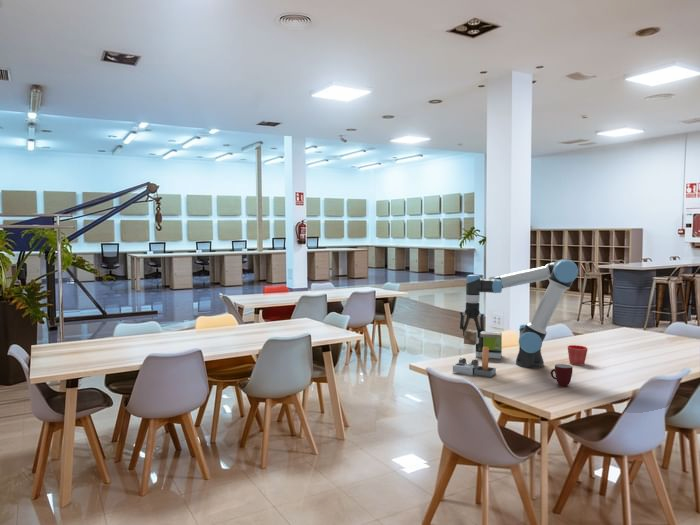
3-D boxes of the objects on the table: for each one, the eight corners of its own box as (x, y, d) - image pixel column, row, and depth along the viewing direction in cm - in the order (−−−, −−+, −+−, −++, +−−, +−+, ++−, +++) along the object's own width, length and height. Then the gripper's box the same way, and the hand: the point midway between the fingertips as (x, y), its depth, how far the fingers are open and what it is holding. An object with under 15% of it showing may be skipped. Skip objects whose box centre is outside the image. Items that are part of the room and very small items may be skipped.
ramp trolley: (479, 370, 286) (480, 359, 285) (472, 375, 274) (472, 364, 274) (460, 367, 291) (460, 356, 291) (452, 372, 280) (452, 361, 280)
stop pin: (488, 373, 277) (489, 347, 276) (487, 374, 274) (487, 348, 273) (482, 372, 279) (483, 346, 278) (481, 373, 276) (481, 347, 275)
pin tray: (495, 373, 278) (495, 368, 278) (491, 377, 270) (491, 371, 270) (479, 371, 283) (479, 365, 283) (474, 375, 275) (474, 369, 275)
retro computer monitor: (501, 355, 320) (502, 331, 319) (500, 359, 311) (501, 334, 310) (476, 353, 325) (477, 330, 324) (475, 357, 315) (475, 333, 315)
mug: (546, 385, 257) (547, 365, 256) (553, 381, 263) (553, 362, 262) (568, 389, 250) (569, 368, 249) (574, 385, 256) (575, 365, 255)
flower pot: (587, 362, 303) (587, 345, 303) (587, 366, 293) (587, 349, 293) (567, 360, 308) (567, 344, 307) (566, 364, 298) (567, 348, 297)
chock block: (479, 342, 296) (479, 330, 296) (474, 345, 290) (474, 332, 289) (468, 341, 300) (469, 329, 299) (463, 343, 293) (464, 331, 292)
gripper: (491, 302, 291) (490, 343, 292) (459, 300, 301) (457, 339, 303) (486, 304, 285) (485, 345, 286) (454, 301, 295) (453, 341, 296)
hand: (471, 342), depth 294 cm, fingers closed on chock block, 6 cm apart
